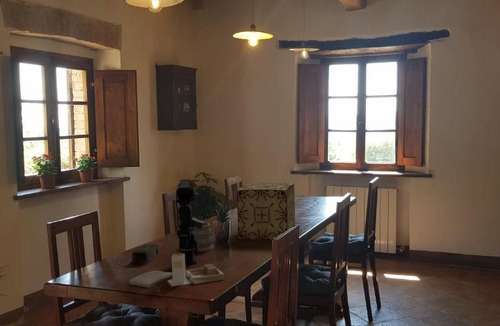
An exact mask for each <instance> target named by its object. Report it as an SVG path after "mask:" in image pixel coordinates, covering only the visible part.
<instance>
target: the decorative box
mask: <svg viewBox="0 0 500 326" xmlns="http://www.w3.org/2000/svg"><path fill="white" fill-rule="evenodd" d="M295 205H296V204H295V183H278V182H277V183H275V182H274V183H267V182H266V183H261V182H260V183H259V182H257V183H256V182H255V183H253V182H252V183H251V182H250V183H247V184H245V185H243V186H241V187H239V188H236V212H237V214H236V215H237V239H238V240H255V239H268V240H267V241H273V240H272V239H273V238H275V237H277V236H278V235H280V234H282V233H284V232H285V231H287V230H288V229H290V228H292V227H295V228H296V214H295V213H296V210H295V209H296V206H295Z"/></svg>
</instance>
